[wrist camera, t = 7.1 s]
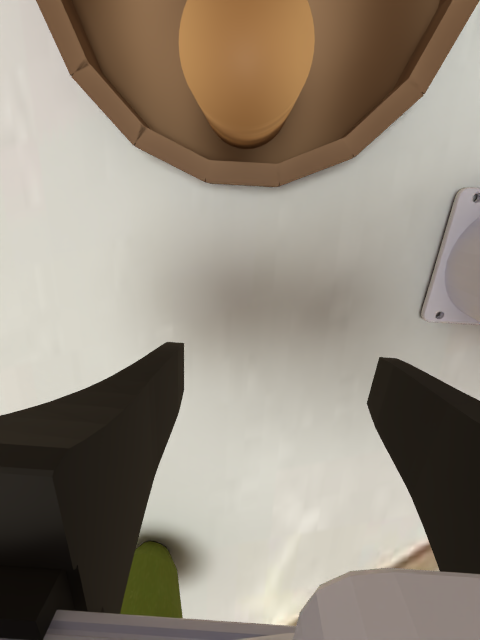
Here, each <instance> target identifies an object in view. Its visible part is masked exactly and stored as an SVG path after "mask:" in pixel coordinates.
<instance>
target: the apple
mask: <svg viewBox="0 0 480 640" xmlns="http://www.w3.org/2000/svg"><path fill="white" fill-rule="evenodd" d="M120 614H126V615H141V616H155V617H169V618H182V609H181V600H180V592H179V583H178V574H177V569H176V567H175V564H174V562H173V560H172V558H171V555H170V553H169V551H168V550H167V548H166V547H164V546H163V545H161V544H159V543H156V542H152V541H148V542H144V543H143V544H142V545H141V546H139V547H138V548H137V549H136V550H135V553H134V557H133V561H132V565H131V569H130V573H129V577H128V581H127V586H126V590H125V594H124V599H123V603H122V608H121V612H120Z"/></svg>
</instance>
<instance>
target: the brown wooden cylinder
mask: <svg viewBox="0 0 480 640" xmlns="http://www.w3.org/2000/svg"><path fill="white" fill-rule="evenodd" d="M314 44H315V35H314V24H313V17H312V13H311V9H310V6H309V3H308V1H307V0H187V2H186V4H185V7H184V10H183V14H182V17H181V22H180V29H179V55H180V61H181V66H182V70H183V73H184V76H185V79H186V82H187V84H188V86H189V88H190V90H191V92H192V94H193V95H194V97H195V99H196V101H197V103H198V104H199V106H200V108H201V110H202V111H203V113H204V115H205V117H206V118H207V120H208V122H209V124H210V126H211V127H212V129H213V130H214V132H215V133H216V134H217V135H218V137H219V138H220V139H222V140H223V141H224V142H225V143H227V144H229V145H231V146H233V147H236V148H240V149H254V148H258V147H261V146H263V145H265V144H266V143H268V142H270V141H271V140H272V139H273V138H274V137H275V136H276V135H277V134H278V133H279V132H280V130H281V129H282V127H283V125H284V123H285V122H286V120H287V118H288V116H289V114H290V112H291V110H292V108H293V106H294V104H295V102H296V100H297V98H298V96H299V94H300V92H301V90H302V88H303V86H304V84H305V82H306V80H307V77H308V75H309V72H310V68H311V65H312V60H313V54H314Z"/></svg>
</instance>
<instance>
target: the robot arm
mask: <svg viewBox="0 0 480 640" xmlns="http://www.w3.org/2000/svg"><path fill="white" fill-rule="evenodd" d="M476 193H477V195H478V197H477V200H476V201H475V202H473V196H474V195H475V194H476ZM438 312H440V315H439V316H437V317H436V314H437V313H438ZM421 316H422V318H423V319H424V320H426V321H428V322H441V323H459V324H476V325H480V188H472V187H468V188H463V189H461V190H460V191H459V192H458V193H457V195H456V197H455V200H454V203H453V207H452V210H451V214H450V217H449V220H448V224H447V227H446V231H445V234H444V237H443V241H442V244H441V248H440V251H439V254H438V258H437V261H436V264H435V268H434V271H433V275H432V278H431V281H430V285H429V288H428V292H427V295H426V298H425V302H424V305H423V309H422V312H421ZM183 392H184V343H174V342H166V343H165V344H163V345H161V346H160V347H158V348H157V349H155V350H154V351H152V352H151V353H149V354H148V355H146V356H145V357H143V358H141V359H140V360H138V361H137V362H135V363H134V364H132V365H130V366H128V367H127V368H125V369H123V370H121V371H120V372H118V373H116V374H114V375H113V376H111V377H109V378H107V379H105V380H103V381H101V382H99V383H96V384H94V385H92V386H90V387H88V388H85V389H83V390H80V391H78V392H75V393H72V394H70V395H67V396H64V397H62V398H59V399H56V400H53V401H51V402H48V403H44V404H41V405H38V406H35V407H31V408H28V409H24V410H20V411H17V412H13V413H9V414H5V415H1V416H0V640H480V401H479V400H477V399H475V398H473V397H471V396H469V395H467V394H465V393H463V392H461V391H459V390H457V389H455V388H453V387H452V386H450V385H448V384H446V383H444V382H442V381H440V380H438V379H437V378H435V377H433V376H431V375H429V374H427V373H426V372H424V371H422V370H420V369H418V368H416V367H414V366H412V365H410V364H408V363H406V362H404V361H402V360H399V359H396V358H383V357H379V361H378V364H377V368H376V372H375V375H374V379H373V383H372V386H371V390H370V394H369V397H368V401H367V405H368V408H369V411H370V414H371V417H372V420H373V422H374V425H375V428H376V430H377V432H378V434H379V436H380V438H381V439H382V441H383V443H384V445H385V447H386V449H387V451H388V453H389V455H390V457H391V458H392V460H393V462H394V464H395V466H396V468H397V470H398V472H399V474H400V475H401V477H402V479H403V481H404V483H405V485H406V487H407V489H408V491H409V493H410V495H411V497H412V500H413V502H414V505H415V507H416V510H417V512H418V514H419V517H420V519H421V522H422V524H423V527H424V529H425V532H426V535H427V537H428V540H429V543H430V545H431V548H432V551H433V553H434V556H435V559H436V561H437V564H438V567H439V570H440V571H426V570H412V569H397V568H381V569H370V570H359V571H350V572H348V573H345V574H343V575H341V576H339V577H337V578H334V579H332V580H330V581H328V582H326V583H323V584H321V585H320V586H319V587H318V589H317V590H316V591H315V593H314V594H313V595H312V596H311V598H310V599H309V600H308V602H307V603H306V604H305V606H304V607H303V609H302V610H301V612H300V614H299V618H298V622H297V626H284V625H270V624H256V623H241V622H227V621H212V620H198V619H184V618H169V617H155V616H141V615H126V614H120V612H121V608H122V603H123V599H124V594H125V590H126V586H127V581H128V577H129V573H130V569H131V565H132V561H133V557H134V553H135V549H136V544H137V540H138V537H139V533H140V529H141V525H142V521H143V517H144V513H145V510H146V506H147V502H148V499H149V495H150V491H151V488H152V484H153V480H154V477H155V474H156V471H157V468H158V465H159V463H160V460H161V458H162V455H163V452H164V450H165V447H166V445H167V442H168V440H169V437H170V434H171V432H172V429H173V426H174V424H175V421H176V419H177V416H178V413H179V409H180V405H181V401H182V396H183Z"/></svg>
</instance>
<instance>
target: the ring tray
mask: <svg viewBox="0 0 480 640" xmlns="http://www.w3.org/2000/svg"><path fill="white" fill-rule="evenodd" d="M36 1H37V3H38V6H39V8H40V10H41V12H42V14H43V16H44V19H45V21H46V23H47V25H48V27H49V30H50V32H51V34H52V36H53V38H54V40H55V43H56V45H57V47H58V49H59V51H60V54H61V56H62V58H63V60H64V62H65V64H66V67H67V69H68V71H69V73H70V75H71V76H72V78H73V79H74V80H75V81H76V82H77V83H78V84H79V86H80V87H81V88H82V89H83V90H84V91H85V92H86V93H87V94H88V96H89V97H90V98H91V99H92V100H93V101H94V102H95V103H96V104H97V106H98V107H99V108H100V109H101V110H102V111H103V112H104V113H105V114H106V115H107V117H108V118H109V119H110V120H111V121H112V122H113V123H114V124H115V125H116V127H117V128H118V129H119V130H120V131H121V132H122V133H123V134H124V135H125V137H126V138H127V139H128V140H129V141H130V142H131V143H132V144H133V145H134V146H135V147H137V148H139V149H141V150H143V151H145V152H147V153H149V154H151V155H153V156H155V157H157V158H159V159H161V160H163V161H165V162H167V163H169V164H171V165H172V166H174V167H176V168H178V169H180V170H182V171H184V172H186V173H188V174H190V175H192V176H194V177H196V178H198V179H200V180H202V181H204V182H207V183H211V184H228V185H247V186H265V187H278V186H281V185H284V184H286V183H289V182H292V181H294V180H297V179H300V178H302V177H305V176H307V175H310V174H313V173H315V172H318V171H320V170H323V169H326V168H328V167H331V166H334V165H336V164H339V163H341V162H344V161H347V160H349V159H352V158H353V157H355V156H356V155H358V154H359V153H360V152H361V151H362V150H363V149H364V148H365V147H366V146H368V145H369V144H370V143H371V142H372V141H373V140H374V139H375V138H376V137H378V136H379V135H380V134H381V133H382V132H383V131H384V130H385V129H386V128H388V127H389V126H390V125H391V124H392V123H393V122H394V121H395V120H397V119H398V118H399V117H400V116H401V115H402V114H403V113H404V112H405V111H407V110H408V109H409V108H410V107H411V106H412V105H413V104H414V103H415V102H417V101H418V100H419V99H420V98H421V97H422V96H423V94H425V92H426V91H427V89H428V87H429V86H430V84H431V82H432V80H433V79H434V77H435V75H436V74H437V72H438V70H439V68H440V67H441V65H442V63H443V62H444V60H445V58H446V57H447V55H448V53H449V51H450V50H451V48H452V46H453V45H454V43H455V41H456V40H457V38H458V36H459V34H460V33H461V31H462V29H463V28H464V26H465V24H466V22H467V21H468V19H469V17H470V16H471V14H472V12H473V11H474V9H475V7H476V5H477V4H478V2H479V0H307V1H308V3H309V6H310V9H311V13H312V17H313V24H314V35H315V44H314V54H313V60H312V65H311V68H310V72H309V75H308V77H307V80H306V82H305V84H304V86H303V88H302V90H301V92H300V94H299V96H298V98H297V100H296V102H295V104H294V106H293V108H292V110H291V112H290V114H289V116H288V118H287V120H286V122H285V123H284V125H283V127H282V129H281V130H280V132H279V133H278V134H277V135H276V136H275V137H274V138H273V139H272V140H271V141H270V142H268V143H266V144H265V145H263V146H261V147H258V148H254V149H240V148H236V147H233V146H231V145H229V144H227V143H225V142H224V141H223V140H222V139H220V138H219V137H218V135H217V134H216V133H215V132H214V130H213V129H212V127H211V126H210V124H209V122H208V120H207V118H206V117H205V115H204V113H203V111H202V110H201V108H200V106H199V104H198V103H197V101H196V99H195V97H194V95H193V94H192V92H191V90H190V88H189V86H188V84H187V82H186V79H185V76H184V73H183V70H182V66H181V61H180V55H179V29H180V22H181V17H182V14H183V10H184V7H185V4H186V2H187V0H36Z"/></svg>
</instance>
